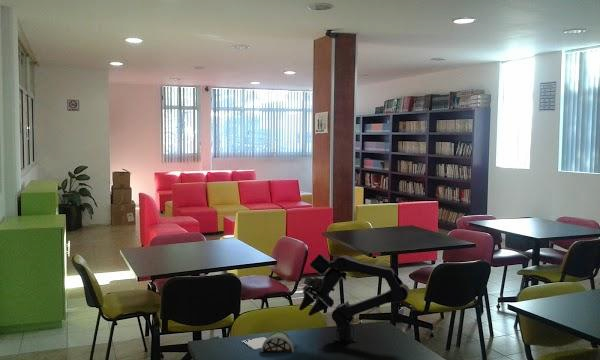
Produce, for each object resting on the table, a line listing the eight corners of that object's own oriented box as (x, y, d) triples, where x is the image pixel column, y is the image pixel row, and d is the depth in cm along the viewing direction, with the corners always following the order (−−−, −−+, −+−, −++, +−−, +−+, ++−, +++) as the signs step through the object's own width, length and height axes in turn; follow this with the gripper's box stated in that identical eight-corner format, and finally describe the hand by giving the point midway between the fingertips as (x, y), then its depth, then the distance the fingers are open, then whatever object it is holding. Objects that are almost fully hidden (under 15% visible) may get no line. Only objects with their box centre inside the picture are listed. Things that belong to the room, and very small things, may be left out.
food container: (295, 328, 211) (293, 336, 201) (295, 343, 211) (293, 353, 201) (263, 327, 211) (260, 336, 201) (263, 343, 212) (260, 352, 202)
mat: (263, 337, 220) (263, 336, 220) (277, 345, 210) (277, 344, 210) (241, 341, 215) (241, 340, 215) (254, 350, 205) (254, 349, 205)
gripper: (306, 265, 222) (282, 295, 218) (326, 272, 205) (299, 304, 201) (324, 282, 225) (300, 312, 221) (344, 291, 208) (319, 323, 204)
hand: (304, 312), depth 212 cm, fingers open, 9 cm apart
